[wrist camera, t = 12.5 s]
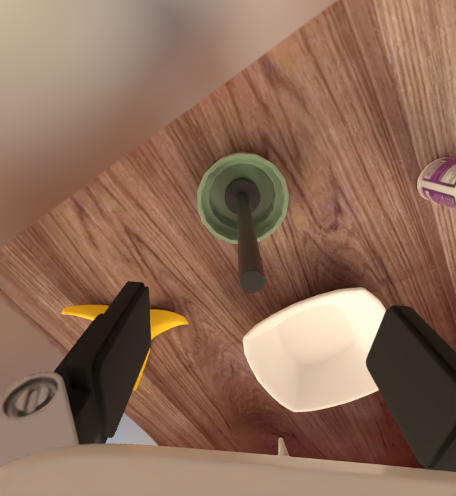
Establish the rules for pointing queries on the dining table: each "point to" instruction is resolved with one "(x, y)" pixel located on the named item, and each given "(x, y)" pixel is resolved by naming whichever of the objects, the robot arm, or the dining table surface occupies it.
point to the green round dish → (269, 187)
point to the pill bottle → (439, 181)
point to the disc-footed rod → (246, 232)
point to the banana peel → (158, 321)
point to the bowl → (317, 349)
